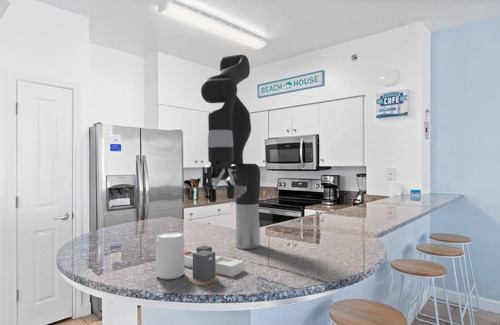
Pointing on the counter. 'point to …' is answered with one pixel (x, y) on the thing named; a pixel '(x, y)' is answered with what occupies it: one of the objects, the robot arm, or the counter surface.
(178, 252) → the beverage can
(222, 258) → the power strip
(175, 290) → the counter surface
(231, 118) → the robot arm
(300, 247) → the counter surface
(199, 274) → the block
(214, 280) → the coaster
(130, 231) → the counter surface
